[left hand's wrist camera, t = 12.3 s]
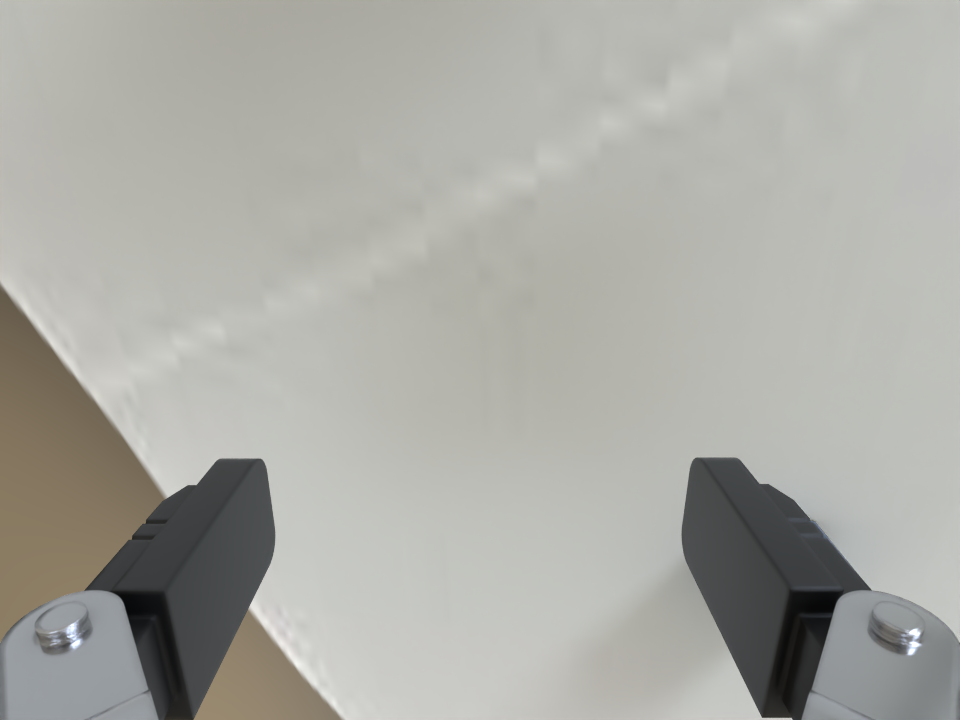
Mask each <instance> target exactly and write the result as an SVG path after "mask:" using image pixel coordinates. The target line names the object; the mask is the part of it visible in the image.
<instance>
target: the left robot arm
mask: <svg viewBox="0 0 960 720" xmlns="http://www.w3.org/2000/svg"><path fill="white" fill-rule="evenodd" d="M274 546H275V526H274V519H273V511H272V504H271V497H270V490H269V482H268V475H267V469H266V465H265V463H264V461H263V460H262V459H219V460H217V461H216V462H215V463H214V465H213V466H212V467H211V468H210V469H209V471H208V472H207V473H206V474H205V476H204V477H203V478H202V479H201V480H200V482H199V483H198V484H197V485H188V486H186V487H184V488H183V489H181V490H180V491H178V492H176V493H175V494H173V495H172V496H170V497H169V498H167V499H165V500H164V501H162V502H161V504H160V505H159V506H158V507H157V508H156V509H155V510H154V512H153V513H152V514H151V515H150V516H149V517H148V519H147V520H146V524H142V525H141V526H140V528H139V529H138V530H137V531H136V532H135V533H134V534H133V536H132V540H128V541H127V543H126V544H125V545H124V546H123V547H122V548H121V549H120V550H119V552H118V553H117V554H116V555H115V556H114V557H113V559H112V560H111V561H110V562H109V563H108V564H107V565H106V567H105V568H104V569H103V570H102V571H101V572H100V573H99V575H98V576H97V577H96V578H95V579H94V580H93V581H92V583H91V584H90V585H89V586H88V587H87V588H86V589H85V591H81V592H76V593H72V594H68V595H65V596H62V597H59V598H57V599H54V600H52V601H49V602H47V603H45V604H43V605H41V606H39V607H38V608H36V609H34V610H33V611H31V612H29V613H28V614H27V615H25V616H24V617H23V618H21V619H20V620H19V621H18V622H17V623H15V624H14V625H13V626H12V627H11V628H10V630H9V631H8V632H7V633H6V635H5V636H4V637H3V639H2V641H1V643H0V720H193V719H194V717H195V715H196V713H197V711H198V709H199V707H200V705H201V703H202V701H203V699H204V697H205V695H206V693H207V691H208V689H209V687H210V685H211V683H212V681H213V679H214V677H215V675H216V673H217V671H218V669H219V667H220V665H221V663H222V661H223V659H224V657H225V655H226V652H227V651H228V648H229V646H230V644H231V642H232V640H233V638H234V636H235V634H236V632H237V630H238V628H239V626H240V624H241V622H242V620H243V618H244V616H245V614H246V612H247V610H248V608H249V606H250V604H251V602H252V600H253V598H254V596H255V594H256V592H257V590H258V588H259V586H260V584H261V582H262V580H263V577H264V575H265V573H266V571H267V569H268V567H269V565H270V563H271V560H272V557H273V552H274ZM682 546H683V552H684V556H685V559H686V562H687V564H688V566H689V569H690V571H691V573H692V575H693V577H694V579H695V581H696V583H697V585H698V587H699V589H700V591H701V593H702V595H703V597H704V599H705V601H706V603H707V605H708V608H709V610H710V612H711V614H712V616H713V618H714V620H715V622H716V624H717V626H718V628H719V630H720V632H721V634H722V636H723V638H724V640H725V642H726V644H727V647H728V649H729V651H730V653H731V655H732V657H733V659H734V661H735V663H736V665H737V667H738V669H739V671H740V673H741V675H742V677H743V679H744V681H745V684H746V686H747V688H748V690H749V692H750V694H751V696H752V698H753V700H754V702H755V704H756V706H757V708H758V710H759V712H760V714H761V716H762V718H792V719H793V720H960V643H959V641H958V639H957V637H956V636H955V635H954V633H953V632H952V631H951V630H950V628H949V627H948V626H947V625H946V624H945V623H943V622H942V621H941V620H940V619H939V618H938V617H936V616H935V615H933V614H932V613H931V612H929V611H927V610H926V609H924V608H922V607H921V606H919V605H917V604H915V603H913V602H911V601H908V600H906V599H903V598H901V597H898V596H895V595H892V594H888V593H884V592H879V591H872V590H871V589H870V588H869V587H868V585H867V584H866V583H865V582H864V581H863V580H862V578H861V577H860V576H859V575H858V574H857V573H856V572H855V570H854V569H853V568H852V567H851V566H850V565H849V563H848V562H847V561H846V560H845V559H844V558H843V557H842V555H841V554H840V553H839V552H838V551H837V550H836V548H835V547H834V546H833V545H832V544H831V543H830V542H829V540H828V539H827V538H824V537H823V533H822V532H821V531H820V530H819V529H818V528H817V527H816V525H815V524H814V523H810V518H809V517H808V516H807V515H806V514H805V513H804V512H803V510H802V509H801V508H800V507H799V506H798V505H797V503H796V502H795V501H794V500H793V499H791V498H789V497H788V496H786V495H785V494H783V493H782V492H780V491H778V490H777V489H775V488H774V487H772V486H771V485H769V484H759V483H758V482H757V480H756V479H755V478H754V477H753V475H752V474H751V473H750V472H749V470H748V469H747V468H746V467H745V466H744V464H743V463H742V462H741V461H740V460H739V459H738V458H695V459H694V460H693V461H692V464H691V467H690V473H689V480H688V487H687V495H686V502H685V509H684V517H683V524H682Z"/></svg>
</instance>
